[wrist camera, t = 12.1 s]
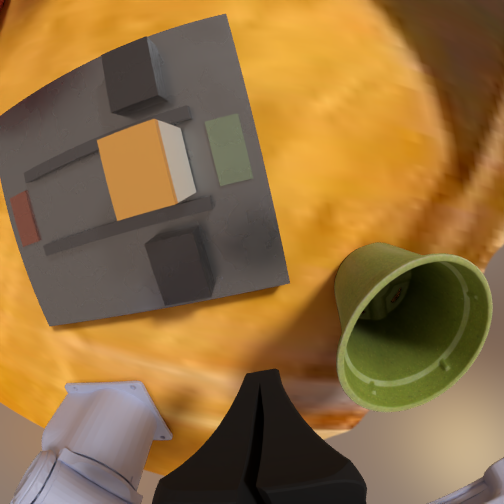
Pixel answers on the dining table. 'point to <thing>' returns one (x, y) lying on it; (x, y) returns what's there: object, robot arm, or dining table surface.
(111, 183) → the white orange block
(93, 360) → the dining table surface
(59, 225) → the panel
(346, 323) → the plant pot
